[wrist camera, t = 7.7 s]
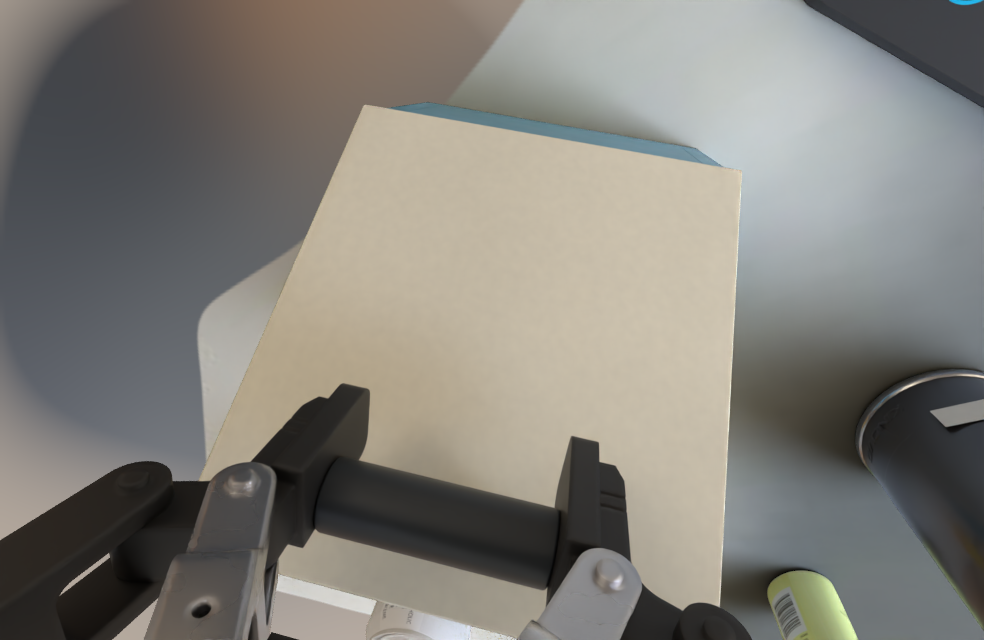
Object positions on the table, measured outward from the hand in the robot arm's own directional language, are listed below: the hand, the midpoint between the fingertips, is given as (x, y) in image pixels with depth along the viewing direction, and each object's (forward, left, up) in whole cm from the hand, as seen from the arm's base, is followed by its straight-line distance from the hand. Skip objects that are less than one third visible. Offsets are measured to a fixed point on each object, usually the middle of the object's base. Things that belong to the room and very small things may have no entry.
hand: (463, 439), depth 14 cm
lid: (0, 0, -5) cm, 6 cm away
